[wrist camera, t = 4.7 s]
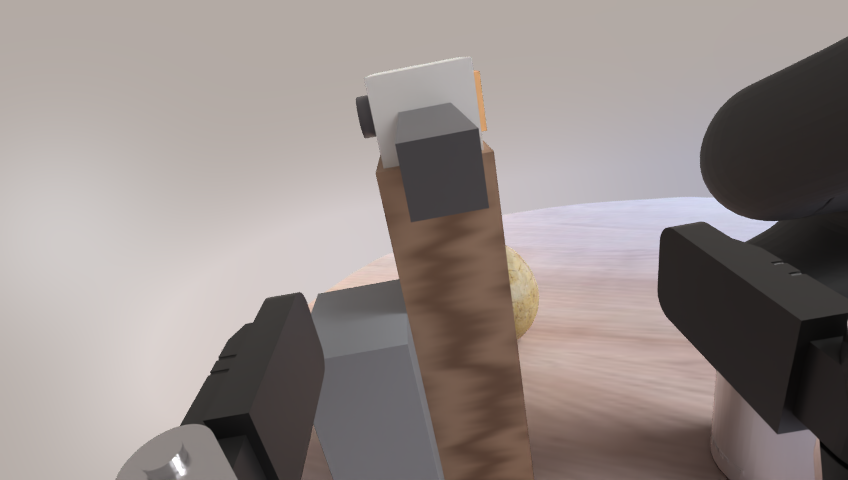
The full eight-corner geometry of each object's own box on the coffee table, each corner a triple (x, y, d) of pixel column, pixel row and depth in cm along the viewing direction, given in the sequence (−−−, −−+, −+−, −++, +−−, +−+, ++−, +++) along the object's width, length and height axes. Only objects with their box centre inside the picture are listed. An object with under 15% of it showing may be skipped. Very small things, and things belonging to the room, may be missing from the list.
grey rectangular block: (445, 452, 48) (406, 277, 40) (454, 547, 38) (407, 344, 31) (370, 465, 48) (318, 293, 40) (362, 562, 39) (292, 364, 31)
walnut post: (511, 412, 51) (472, 129, 39) (535, 490, 42) (493, 151, 30) (442, 424, 51) (382, 146, 40) (450, 504, 42) (375, 173, 30)
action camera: (475, 131, 38) (465, 55, 36) (542, 198, 20) (529, 52, 18) (373, 150, 39) (357, 77, 36) (345, 234, 20) (308, 95, 18)
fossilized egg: (469, 378, 58) (451, 274, 52) (442, 327, 69) (425, 238, 64) (559, 350, 60) (551, 247, 54) (519, 305, 71) (509, 217, 66)
